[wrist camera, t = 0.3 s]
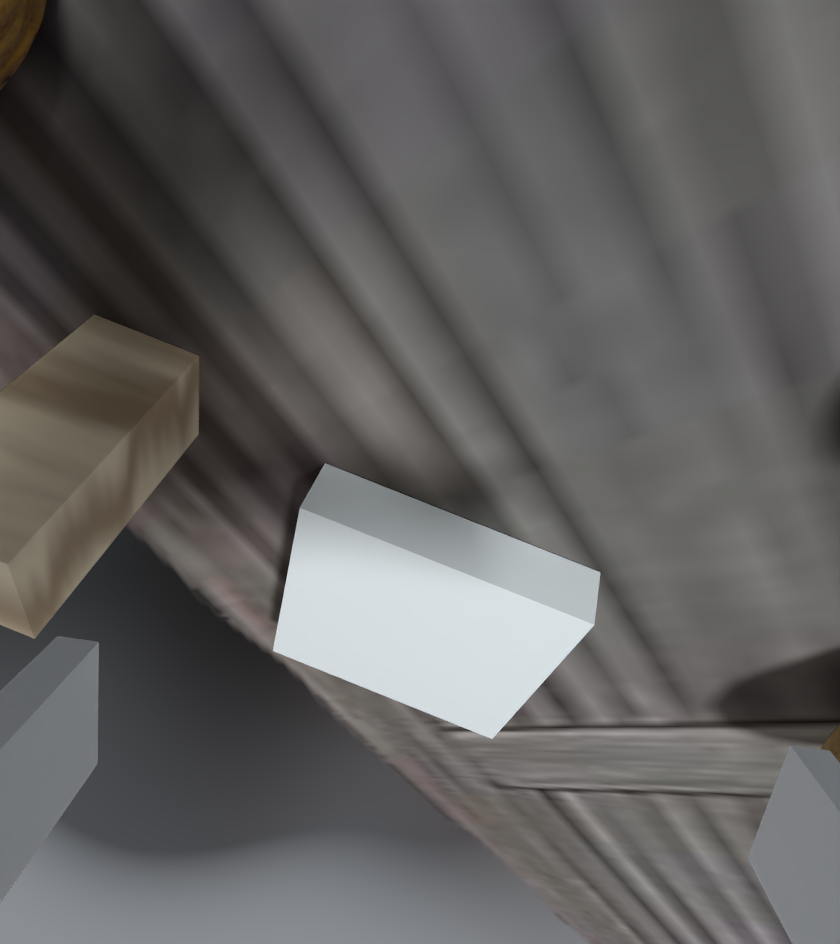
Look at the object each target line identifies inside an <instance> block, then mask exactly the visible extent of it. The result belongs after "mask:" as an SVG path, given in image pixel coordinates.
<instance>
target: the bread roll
mask: <svg viewBox="0 0 840 944" xmlns="http://www.w3.org/2000/svg"><path fill="white" fill-rule="evenodd" d="M46 2H47V0H0V90H1V89H2V88H3V87H4V86H5V85H6V84H7V83H8V82H9V80H10V79H11V78H12V76H13V75H14V73H15V72H16V70H17V69H18V67H19V66H20V64H21V63H22V62H23V60H24V59H25V57H26V55H27V53H28V51H29V49H30V47H31V45H32V43H33V41H34V39H35V37H36V34H37V32H38V30H39V27H40V25H41V23H42V21H43V17H44V12H45V7H46Z"/></svg>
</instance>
